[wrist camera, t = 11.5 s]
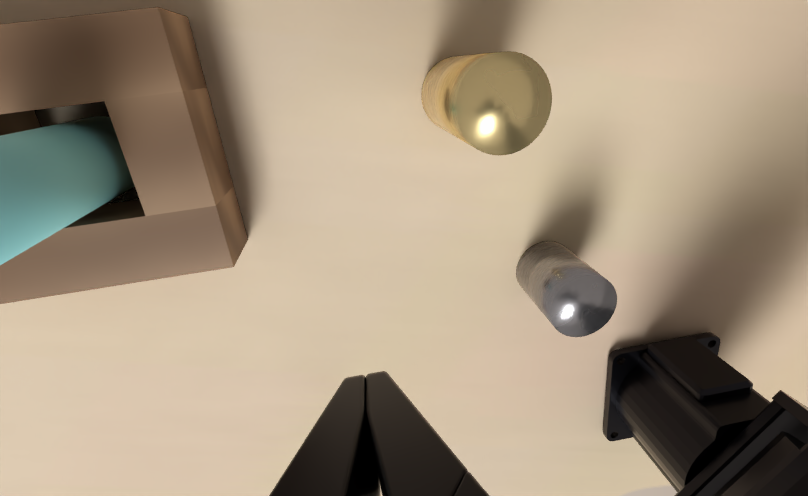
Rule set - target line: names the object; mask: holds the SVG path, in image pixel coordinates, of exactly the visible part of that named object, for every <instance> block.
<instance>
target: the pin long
mask: <svg viewBox="0 0 808 496" xmlns="http://www.w3.org/2000/svg"><path fill="white" fill-rule="evenodd" d="M134 186H135V185H134V182H133V180H132V177H131V174H130V171H129V168H128V166H127V163H126V160H125V157H124V155H123V152H122V149H121V146H120V143H119V141H118V138H117V135H116V132H115V129H114V127H113V124H112V121H111V118H110V117H105V116H95V117H89V118H85V119H80V120H75V121H70V122H65V123H60V124H55V125H50V126H45V127H41V128H36V129H31V130H26V131H21V132H16V133H11V134H6V135H1V136H0V265H2V264H3V263H5V262H7V261H8V260H10V259H12V258H13V257H15V256H17V255H19V254H20V253H22V252H24V251H25V250H27V249H29V248H30V247H32V246H34V245H36V244H37V243H39V242H41V241H42V240H44V239H46V238H48V237H49V236H51V235H53V234H54V233H56V232H58V231H59V230H61V229H63V228H65V227H66V226H68V225H70V224H71V223H73V222H75V221H76V220H78V219H80V218H82V217H83V216H85V215H87V214H88V213H90V212H92V211H93V210H95V209H97V208H99V207H100V206H102V205H104V204H105V203H107V202H109V201H110V200H112V199H114V198H116V197H117V196H119V195H121V194H122V193H124V192H126V191H127V190H129V189H131V188H133V187H134Z"/></svg>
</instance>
